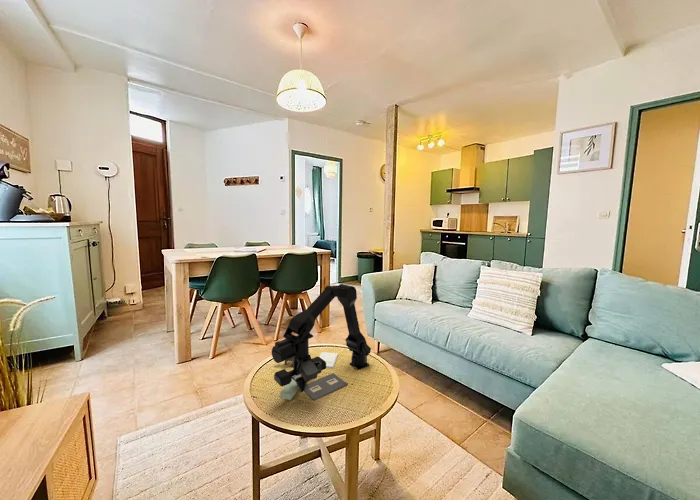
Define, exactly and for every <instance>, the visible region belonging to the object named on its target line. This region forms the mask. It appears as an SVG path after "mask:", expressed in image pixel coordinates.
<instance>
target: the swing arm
mask: <svg viewBox="0 0 700 500" xmlns="http://www.w3.org/2000/svg"><path fill="white" fill-rule="evenodd" d="M298 390H299V387H298V385H297V383H296V382H295V381H294V380H293V379H292V381H291V382H290V384H287V385H285V386H283V388H282V390H281V391H280V393H279V398H280V399H283V400H287V401H288V400H289V401H291V400H292V399H293V398H294V396H295V394H296V393H297V392H298Z"/></svg>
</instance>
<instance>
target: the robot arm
mask: <svg viewBox="0 0 700 500" xmlns="http://www.w3.org/2000/svg"><path fill="white" fill-rule="evenodd" d="M335 298H337V300H338V301H339V303H340V304H341V305H342V308H343V312H344V317H345V322H346V327H347V331H348V335H347V337H346V338H345V339H344V340H345V345H346V347H348V350H349V351H351V362H349V365H350V366H352V367H354V368H355V369H357V370H361V369H364V368H366V367H369V366H370V363H369V362H368V356H369V355H370V353H371V351H372V347H370V346H369V345H368V344H367V340H366V338H365V336H364V335H363V333H362V332H361V330H360V329H361V328H360V325H359V319H358V314H357V310H356V304H355V303H356V302H357V300H358V299H357V298H358V294H357V289H356V287H354V286H353V285H348V284H344V283H340V284H338V285H326V286H325V287H324V289H323V291H322V292H321V293H320V294H319V295H318V296H317V297H316V298H315V299H314V300H313V302H312V303H311V304H309V306H308V307H307V308H306V309H305V310H303V311H300V312H298V313H297V314H296V315H294V316H293V317H292V318H291V319H290V320H289V324H288V326H287V328H286V330H285V332H284V333H283V336H282V337H283V338H284V339H282V340H277V341H276V342H274V346H273V347H272V348H271V357H272V359H273V361H274V362H275V363H276V364H280V363H283V362H285V360H287V359H289V358H291V357H293V361H292V363H291V368H292V370H287V369H286V368H284V369H281V370H279V371H275V373H274V375H273V380H274V381H275V382H276V383H277V384H278V385H279V386H280V387H285V386H286V385H287V384H290V382H291V381H292V379H293V380H294V381H295V382H296V383H297V385H298V387H299V389H298V390H299V392H301V394H302V393H304V388H305V385H306V384H307V383H308V382H309V383H310V381H312V380H317V378H318V375H319V374H321V373H322V371H323V370H325V369H327V368H326V362H325V361H324V360H323V359H321V358H320V356H315V357H312V356H311V354H310V352H309V351H310V350H309V340H310V339H312V338H314V335H313V334H312V333H311V331H312V329H314V327H315V325H316V324H315V323H316V319H317V318H318V317H319V316H320V315H321V313H323V311H324V310H325V309H326V308H327V307H328V306H329V305H330V303H331V302H332V301H333V300H334V299H335ZM292 333H293V334H292ZM295 334H296V335H295Z"/></svg>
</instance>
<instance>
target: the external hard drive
mask: <svg viewBox="0 0 700 500" xmlns="http://www.w3.org/2000/svg"><path fill="white" fill-rule="evenodd" d="M338 356H339V353H337V352H326V351H324V352H323V351H321V353H320V355H319V357H320V358H321V359H323V360H324V361H325V362H326V369H335V364H336V362H337V359H338Z"/></svg>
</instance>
